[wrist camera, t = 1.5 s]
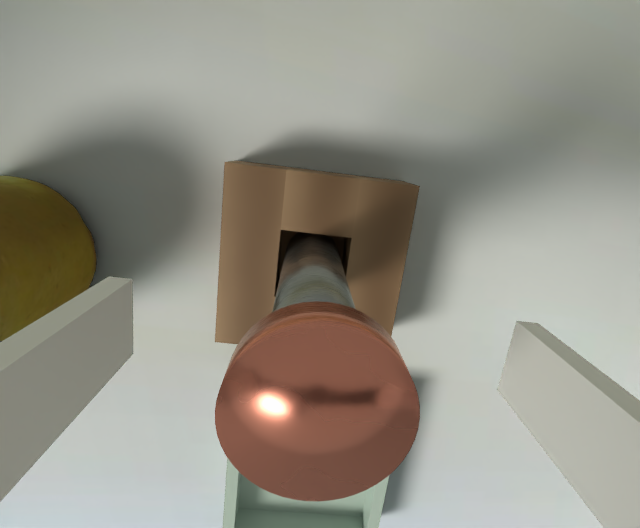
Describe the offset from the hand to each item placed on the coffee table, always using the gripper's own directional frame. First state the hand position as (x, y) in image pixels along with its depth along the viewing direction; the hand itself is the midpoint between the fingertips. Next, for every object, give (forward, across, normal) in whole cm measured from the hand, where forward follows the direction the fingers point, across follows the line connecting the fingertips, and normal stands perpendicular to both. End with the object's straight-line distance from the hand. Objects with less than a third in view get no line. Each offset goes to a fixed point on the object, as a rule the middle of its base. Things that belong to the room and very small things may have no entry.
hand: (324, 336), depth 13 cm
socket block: (+12, 0, 0) cm, 12 cm away
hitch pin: (+11, 0, 0) cm, 11 cm away
